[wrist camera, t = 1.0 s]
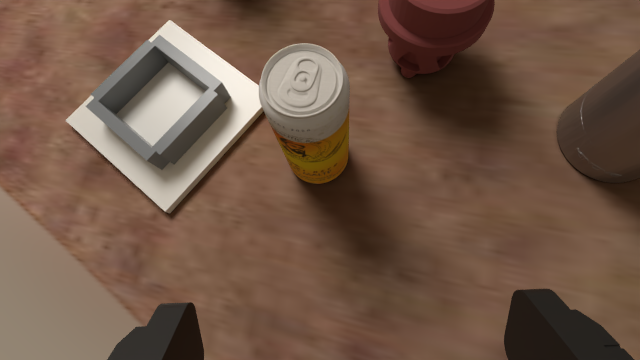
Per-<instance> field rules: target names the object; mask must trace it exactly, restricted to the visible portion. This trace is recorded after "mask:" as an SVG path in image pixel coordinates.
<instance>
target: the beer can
mask: <svg viewBox="0 0 640 360" xmlns="http://www.w3.org/2000/svg"><path fill="white" fill-rule="evenodd" d="M349 95H350V85H349V79H348V75H347V73H346V71H345V69H344V67H343V66H342V65H341V63H340V62H339V61H338V60H337V58H336V57H335V56H334V55H333V54H332V53H331V52H330V51H328V50H327V49H325V48H323V47H320V46H318V45H314V44H306V43H303V44H295V45H291V46H288V47H285V48H283V49H281V50H280V51H278V52H277V53H275V54H274V55H273V56H272V57H271V58H270V59H269V61H268V62H267V63H266V65H265V67H264V69H263V72H262V76H261V80H260V84H259V100H260V103H261V106H262V108H263V110H264V112H265V115H266V117H267V119H268V121H269V123H270V125H271V127H272V129H273V131H274V133H275V136H276V138H277V140H278V142H279V144H280V146H281V148H282V150H283V152H284V154H285V157H286V159H287V161H288V163H289V165H290V167H291V169H292V171H293V172H294V173H295V174H296V175H297V176H298V177H299V178H300V179H302V180H304V181H306V182H309V183H315V184H320V183H326V182H329V181H331V180H333V179H335V178H336V177H337V176H339V175H340V174H341V173H342V171H343V170H344V168H345V167H346V164H347V161H348V148H349Z"/></svg>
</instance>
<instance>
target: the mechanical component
mask: <svg viewBox="0 0 640 360" xmlns="http://www.w3.org/2000/svg"><path fill="white" fill-rule="evenodd" d="M494 5H495V4H494V0H379V2H378V16H379V21H380V23H381V26H382V28H383V30H384V31H385V33H386V34H387V35H388V37H389V40H388V48H389V52H390V55H391V57H392V58H393V60H394V61H395V62H396V63H397V64H398V65H399V66H400V67H401V73H402V75H403V76H404V77H407V78H411V77H413V76H414V75H415V74H416V73H418V74H427V73H433V72H436V71H438V70H441V69H442V68H444V67H445V66H446V65H447V64H448V63H449V62H450V61H451V60H452V58H453V56H454V54H455V53H458V52H460V51H463V50H465V49H466V48H468V47H470V46H471V45H472V44H474V43H475V42H476V41H477V40H478V39H479V38H480V37H481V35H482V34H483V32H484V31H485V29H486V27H487V25H488V23H489V21H490V20H491V18H492V15H493V11H494Z"/></svg>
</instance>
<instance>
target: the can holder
mask: <svg viewBox="0 0 640 360" xmlns="http://www.w3.org/2000/svg"><path fill="white" fill-rule="evenodd" d="M263 111H264V110H263V108H262V106H261V103H260V100H259V86H258V85H257V84H255V83H254V82H253V81H251V80H250V79H249V78H247V77H246V76H245V75H243V74H242V73H241V72H239V71H238V70H237V69H235V68H234V67H232V66H231V65H230V64H228V63H227V62H226V61H224V60H223V59H222V58H220V57H219V56H218V55H216V54H215V53H214V52H212V51H211V50H210V49H208V48H207V47H205V46H204V45H203V44H201V43H200V42H199V41H197V40H196V39H195V38H193V37H192V36H191V35H189V34H188V33H187V32H185V31H184V30H183V29H181V28H180V27H178V26H177V25H176V24H174V23H173V22H172V21H170V20H169V21H168V22H167V23H166V24H165V25H164V26H163V27H162V28H161V29H160V30H159V31H158V32H156V33H155V34H154V35H153V36H152V37H151V38H150V39H149V40H146V41H145V42H144V43H143V44H142V45H141V46H140V47H139V48H138V49H137V50H136V51H135V52H134V53H133V54H132V55H131V56H130V57H129V58H128V59H127V60H126V61H125V62H124V63H123V64H122V65H121V66H120V67H118V68H117V69H116V70H115V71H114V72H113V73H112V74H111V75H110V76H109V77H108V78H107V79H106V80H105V81H104V82H103V83H102V84H101V85H100V86H99V87H98V88H97V89H96V90H95V91H94V92H93V93H92V94H91V96H90V97H89V98H88V99H87V100H86V101H85V102H84V103H83V104H82V105H81V106H80V107H79V108H78V109H77V110H76V111H75V112H74V113H73V114H72V115H71V116H70V117H68V118H67V119H66V121H67V122H68V123H69V124H70V125H71V126H72V127H73V128H74V129H75V130H76V131H78V132H79V133H80V134H81V135H82V136H83V137H84V138H85V139H86V140H87V141H88V142H90V143H91V144H92V145H93V146H94V147H95V148H96V149H97V150H98V151H99V152H100V153H101V154H103V155H104V156H105V157H106V158H107V159H108V160H109V161H110V162H111V163H112V164H113V165H115V166H116V167H117V168H118V169H119V170H120V171H121V172H122V173H123V174H124V175H125V176H127V177H128V178H129V179H130V180H131V181H132V182H133V183H134V184H135V185H136V186H137V187H139V188H140V189H141V190H142V191H143V192H144V193H145V194H146V195H147V196H148V197H149V198H151V199H152V200H153V201H154V202H155V203H156V204H157V205H158V206H159V207H160V208H161V209H163V210H164V211H165V212H167V213H169V214H170V213H171V212H172V211H173V210H174V209H175V207H176V206H177V205H178V204H179V203H180V202H181V201H182V200H183V199H184V198H185V197H186V195H187V194H188V193H189V192H190V191H191V190H192V189H193V188H194V187H195V186H196V185H197V183H198V182H199V181H200V180H201V179H202V178H203V177H204V176H205V175H206V174H207V173H208V171H209V170H210V169H211V168H212V167H213V166H214V165H215V164H216V163H217V162H218V161H219V159H220V158H221V157H222V156H223V155H224V154H225V153H226V152H227V151H228V150H229V149H230V147H231V146H232V145H233V144H234V143H235V142H236V141H237V140H238V139H239V138H240V137H241V135H242V134H243V133H244V132H245V131H246V130H247V129H248V128H249V127H250V126H251V125H252V123H253V122H254V121H255V120H256V119H257V118H258V117H259V116H260V115H261V114H262V112H263Z"/></svg>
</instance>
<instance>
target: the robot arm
mask: <svg viewBox="0 0 640 360" xmlns="http://www.w3.org/2000/svg"><path fill="white" fill-rule="evenodd" d="M557 137H558V142H559V145H560V148H561V150H562V152H563V154H564V155H565V157H566V159H567V160H568V161H569V162H570V163H571V164H572V165H573V166H574V167H575V168H576V169H578V170H579V171H580V172H581V173H583V174H585V175H587V176H589V177H591V178H593V179H596V180H599V181H602V182H609V183H623V182H628V181H631V180H635V179H638V178H640V50H638V51H637V52H636V53H635V54H633V55H632V56H631V57H630V58H628V59H627V60H626V61H625V62H623V63H622V64H621V65H620V66H618V67H617V68H616V69H615V70H613V71H612V72H611V73H610V74H608V75H607V76H606V77H605V78H603V79H602V80H601V81H599V82H598V83H597V84H595V85H594V86H593V87H592V88H590V89H589V90H588V91H587V92H586V93H584V94H583V95H582V96H581V97H579V98H578V99H577V100H576V101H574V102H573V103H572V104H571V105H569V106H568V107H567V108H566V109H565V111H564V112H563V113H562V115H561V117H560V119H559V122H558V127H557ZM504 345H505V351H506V355H507V357H508V360H634V359H633V358H632V357H631V356H630V355H629V354H628V353H627V352H626V351H625V350H624V349H621V348H620V346H619V345H620V344H619V343H618V342H617V341H616V340H615V339H614V338H613V337H612V336H611V335H610V334H609V333H608V332H607V331H606V330H605V329H604V328H603V327H602V326H601V325H599V324H598V323H596V322H595V321H593V320H592V319H590V318H589V317H587V316H586V315H584V314H582V313H581V312H579V311H578V310H570V309H569V307H568V306H567V305H566V304H565V303H564V302H563V301H562V300H561V299H560V298H559V297H558V296H557V294H556V293H555V292H553V291H552V290H550V289H529V290H516V291H515V292H514V293H513V296H512V300H511V305H510V310H509V315H508V320H507V325H506V330H505V335H504ZM108 360H204V348H203V343H202V338H201V334H200V329H199V324H198V319H197V314H196V310H195V306H194V304H193V303H168V304H160V305H159V306H158V307H157V309H156V310H155V312H154V314H153V316H152V317H151V319H150V321H149V323H148V324H147V326H145V327H136V328H135V329H133V330H132V331H131V332H130V333H129V334H128V335H127V336H126V337H125V338H123V339H122V340H121V341H120V342H119V343H118V344H117V345H116V347H115V348H114V350H113V352H112V353H111V355H110V356H109V358H108Z"/></svg>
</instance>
